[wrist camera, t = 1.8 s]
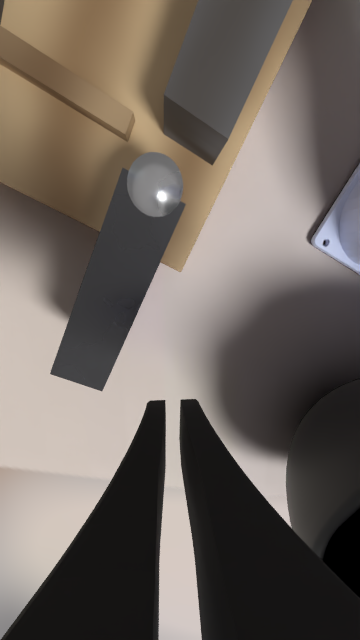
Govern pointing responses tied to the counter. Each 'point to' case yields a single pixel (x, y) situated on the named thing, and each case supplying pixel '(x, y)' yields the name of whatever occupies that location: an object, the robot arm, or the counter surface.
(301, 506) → the coal bowl
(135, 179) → the hinged leg
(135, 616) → the robot arm
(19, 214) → the counter surface
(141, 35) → the wooden board with bars
